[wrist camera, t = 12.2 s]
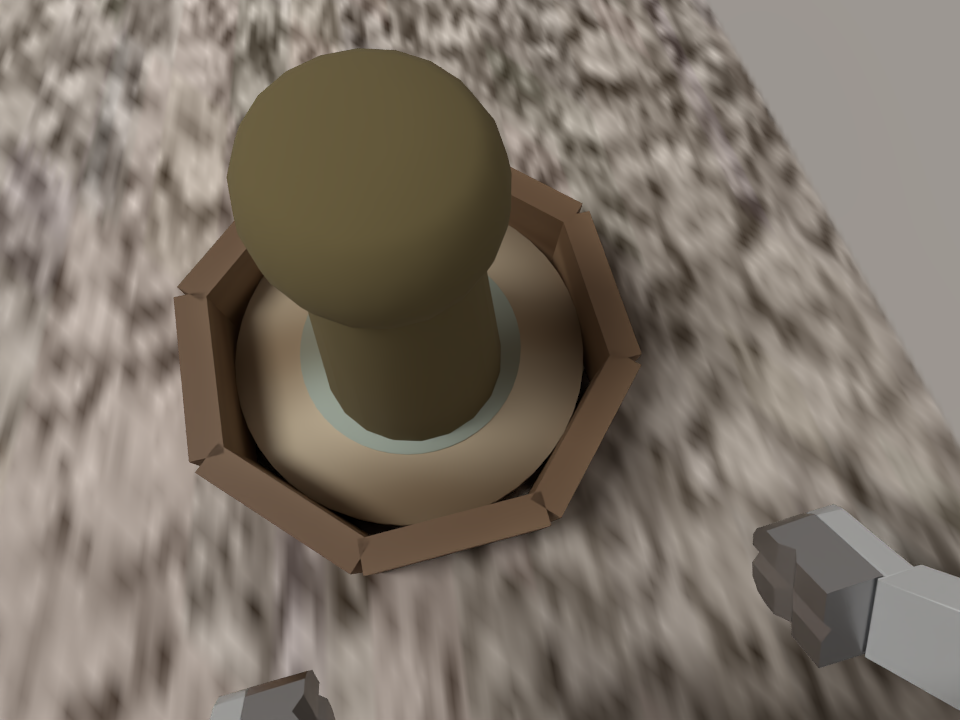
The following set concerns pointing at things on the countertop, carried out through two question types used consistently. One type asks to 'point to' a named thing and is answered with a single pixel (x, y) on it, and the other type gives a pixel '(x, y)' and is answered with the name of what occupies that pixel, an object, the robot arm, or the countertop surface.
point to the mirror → (395, 463)
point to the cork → (381, 230)
